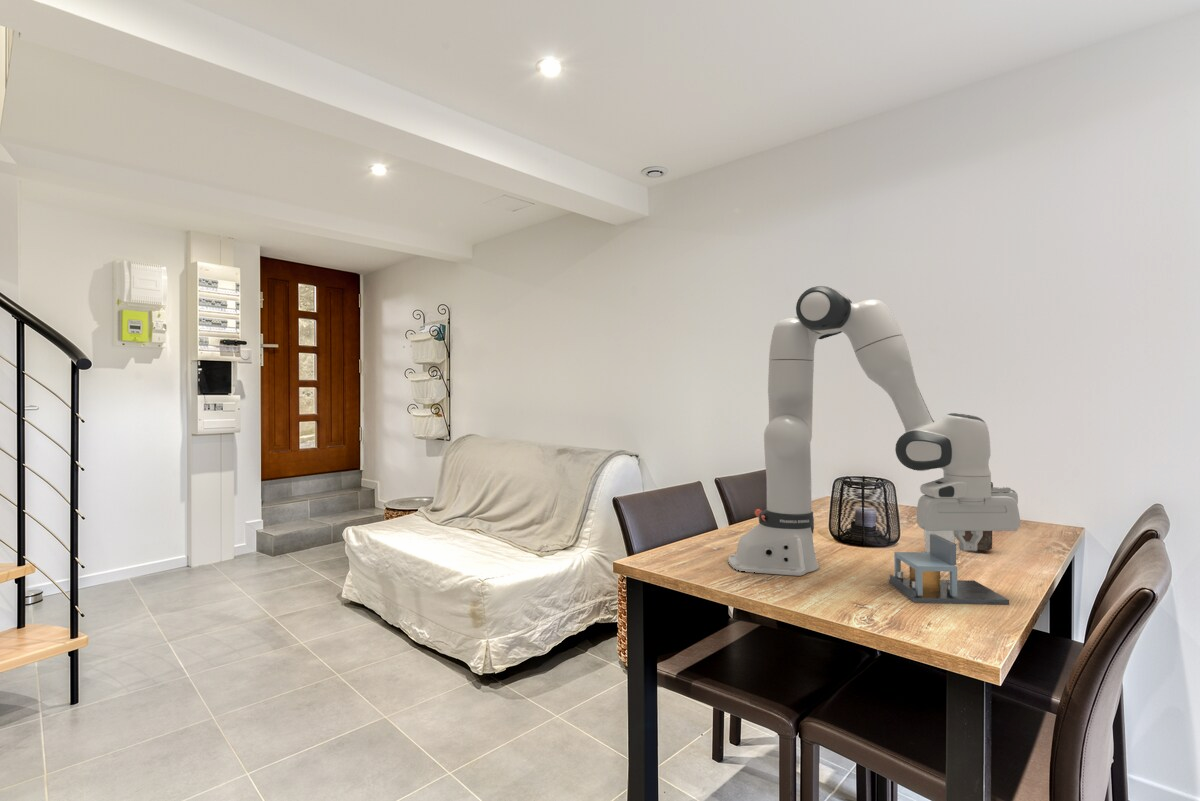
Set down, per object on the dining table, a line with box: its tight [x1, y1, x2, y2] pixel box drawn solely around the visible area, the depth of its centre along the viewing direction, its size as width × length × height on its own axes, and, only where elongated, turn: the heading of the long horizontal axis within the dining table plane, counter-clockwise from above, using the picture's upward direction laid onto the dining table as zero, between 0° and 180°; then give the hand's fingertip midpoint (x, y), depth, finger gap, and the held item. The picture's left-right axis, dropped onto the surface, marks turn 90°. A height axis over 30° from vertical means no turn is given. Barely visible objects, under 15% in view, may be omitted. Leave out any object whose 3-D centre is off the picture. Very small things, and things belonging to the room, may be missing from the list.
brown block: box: [908, 565, 941, 592], centre depth 129 cm, size 4×4×4 cm
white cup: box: [923, 529, 956, 552], centre depth 161 cm, size 8×8×10 cm
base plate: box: [888, 570, 1010, 606], centre depth 129 cm, size 19×13×4 cm
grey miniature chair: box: [893, 534, 958, 596], centre depth 129 cm, size 8×12×11 cm
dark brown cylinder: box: [963, 481, 994, 553], centre depth 164 cm, size 8×7×20 cm
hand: (968, 550), depth 128 cm, fingers closed
